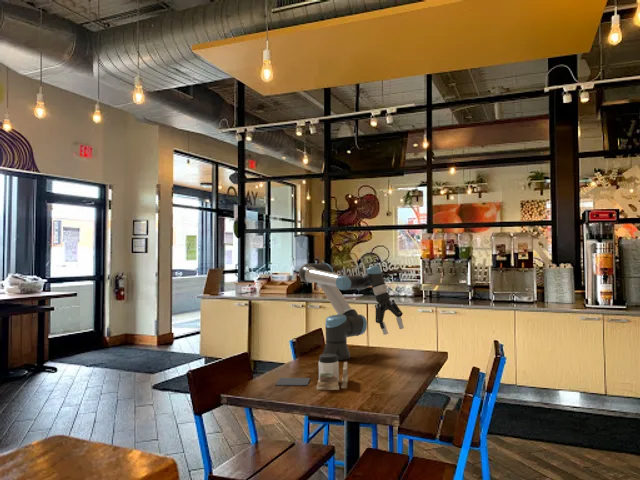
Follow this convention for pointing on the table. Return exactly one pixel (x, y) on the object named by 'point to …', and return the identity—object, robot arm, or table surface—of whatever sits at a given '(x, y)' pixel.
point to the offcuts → (327, 380)
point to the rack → (344, 380)
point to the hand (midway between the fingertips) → (394, 331)
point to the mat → (293, 382)
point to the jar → (329, 364)
